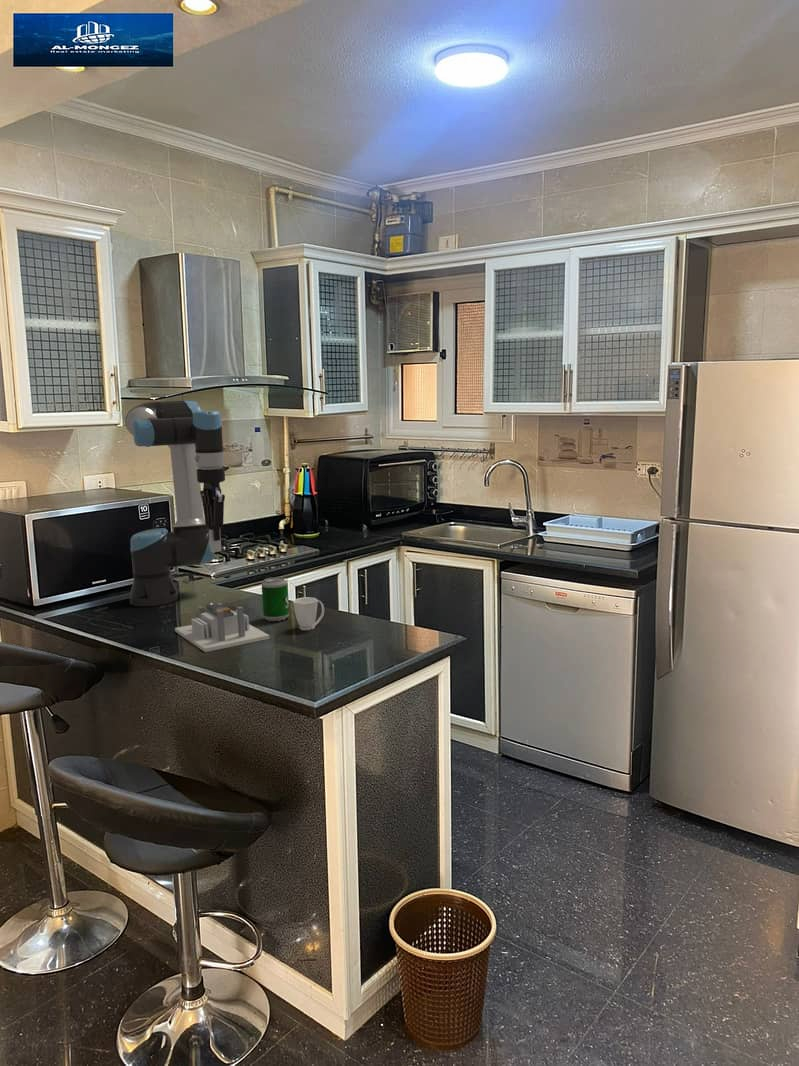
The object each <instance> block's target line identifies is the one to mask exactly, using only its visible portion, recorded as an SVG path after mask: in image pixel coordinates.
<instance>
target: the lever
mask: <svg viewBox="0 0 799 1066" xmlns="http://www.w3.org/2000/svg"><path fill="white" fill-rule="evenodd" d="M204 609H207V610H209V612H214V613H216V614H217V611H218V610H222V611H223V615H224V617H230V616H234V613H233V612H231V608H229V607H227V606H225V607H224V606H223V607H222V606H220V605H218V603H216V602H211V603H206V604H204Z"/></svg>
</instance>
